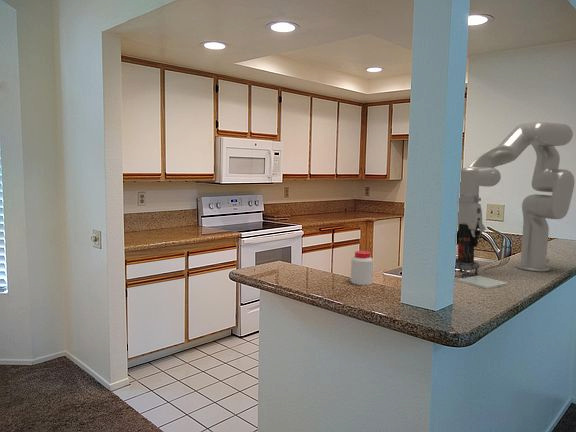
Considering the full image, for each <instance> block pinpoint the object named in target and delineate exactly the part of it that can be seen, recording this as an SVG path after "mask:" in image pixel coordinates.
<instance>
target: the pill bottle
mask: <svg viewBox="0 0 576 432" xmlns="http://www.w3.org/2000/svg"><path fill="white" fill-rule="evenodd" d="M373 270H374V259H373V258H372V257H371V252H370V251H368V250H367V251H366V250H357V251H354V256H353V257H352V258H351V267H350V283H352V284H353V285H360V286H368V285H372V284H373V275H374V274H373V273H374V271H373Z"/></svg>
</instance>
